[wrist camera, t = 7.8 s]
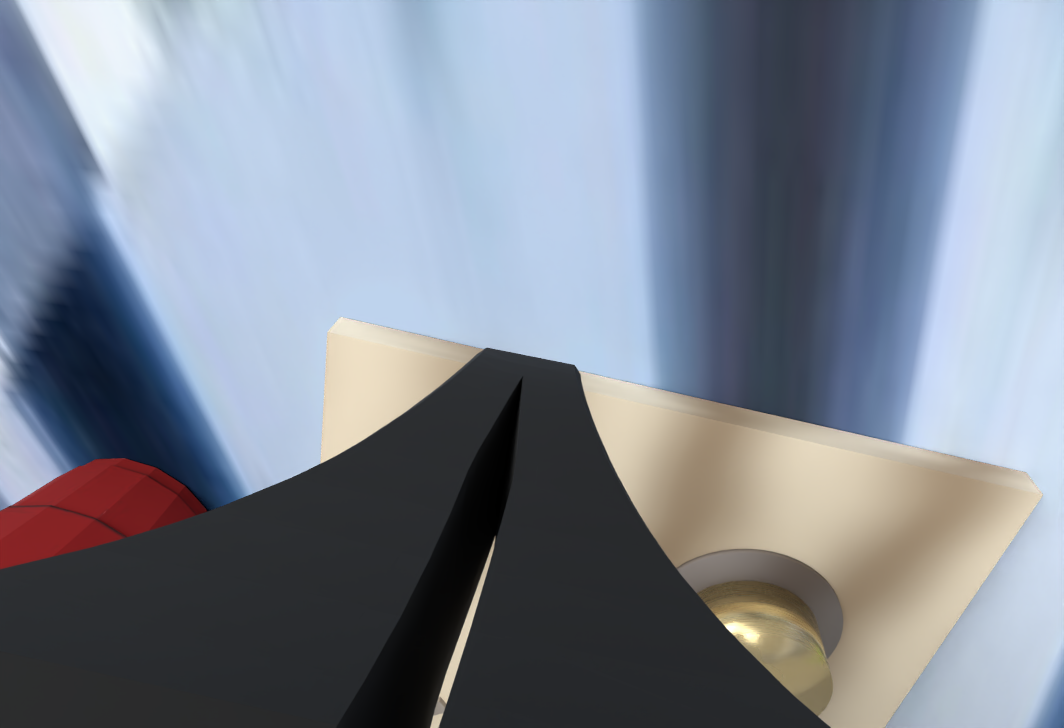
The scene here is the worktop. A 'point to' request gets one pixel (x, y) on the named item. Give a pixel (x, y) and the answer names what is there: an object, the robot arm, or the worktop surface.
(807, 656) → the lever
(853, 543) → the dial board
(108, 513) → the plastic cup
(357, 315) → the worktop surface
